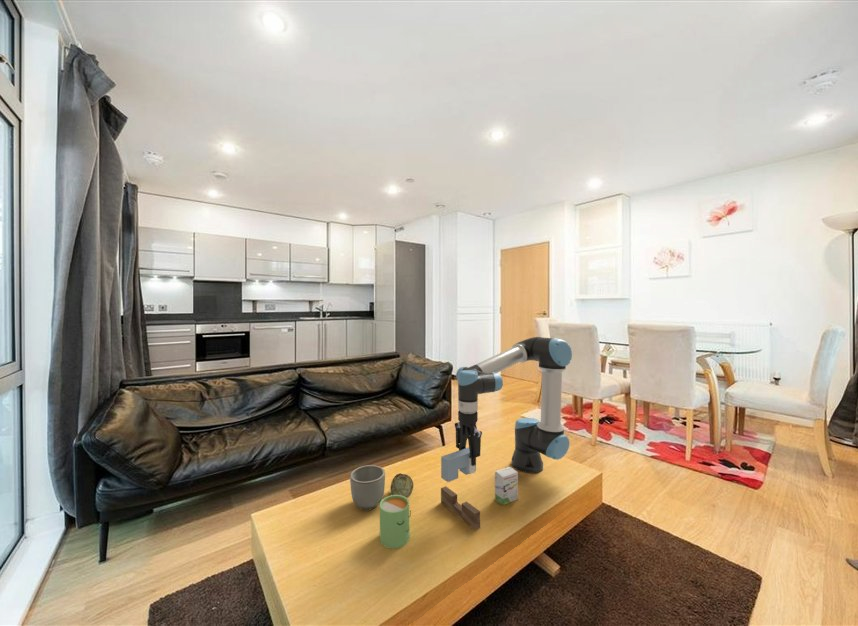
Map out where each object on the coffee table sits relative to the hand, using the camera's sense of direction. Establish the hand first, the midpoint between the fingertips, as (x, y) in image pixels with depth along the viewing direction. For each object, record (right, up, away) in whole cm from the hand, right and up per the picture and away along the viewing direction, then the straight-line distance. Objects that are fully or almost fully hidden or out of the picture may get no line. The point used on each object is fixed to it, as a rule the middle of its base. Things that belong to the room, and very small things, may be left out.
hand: (467, 470), depth 127 cm
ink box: (+17, -16, +7) cm, 24 cm away
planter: (-40, -16, +4) cm, 43 cm away
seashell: (-27, -16, +10) cm, 32 cm away
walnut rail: (-3, -16, -2) cm, 16 cm away
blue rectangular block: (-4, 0, -3) cm, 5 cm away
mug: (-26, -17, -13) cm, 34 cm away
